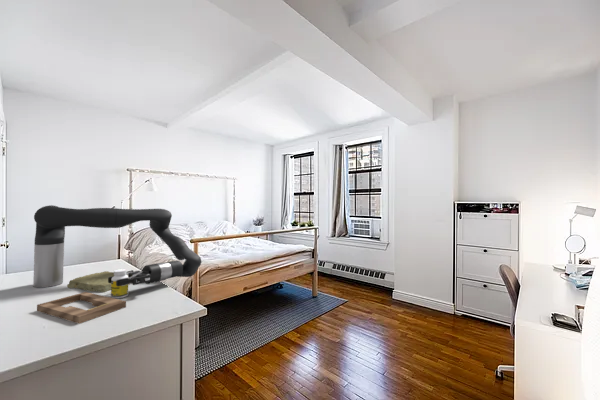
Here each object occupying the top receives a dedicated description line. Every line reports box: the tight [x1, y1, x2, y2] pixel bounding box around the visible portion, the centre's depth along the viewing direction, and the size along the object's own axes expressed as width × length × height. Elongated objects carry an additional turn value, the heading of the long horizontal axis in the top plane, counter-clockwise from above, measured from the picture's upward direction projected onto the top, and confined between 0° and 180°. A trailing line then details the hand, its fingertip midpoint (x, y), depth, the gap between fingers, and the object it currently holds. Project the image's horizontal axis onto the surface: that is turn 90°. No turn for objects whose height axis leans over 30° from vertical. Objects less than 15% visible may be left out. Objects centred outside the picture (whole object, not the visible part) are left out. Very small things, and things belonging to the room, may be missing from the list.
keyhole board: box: [36, 291, 127, 325], centre depth 90 cm, size 22×14×2 cm, turn 68°
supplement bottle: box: [110, 268, 129, 299], centre depth 102 cm, size 5×5×10 cm
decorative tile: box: [66, 270, 115, 293], centre depth 117 cm, size 19×20×4 cm
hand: (112, 281), depth 100 cm, fingers open, 5 cm apart
